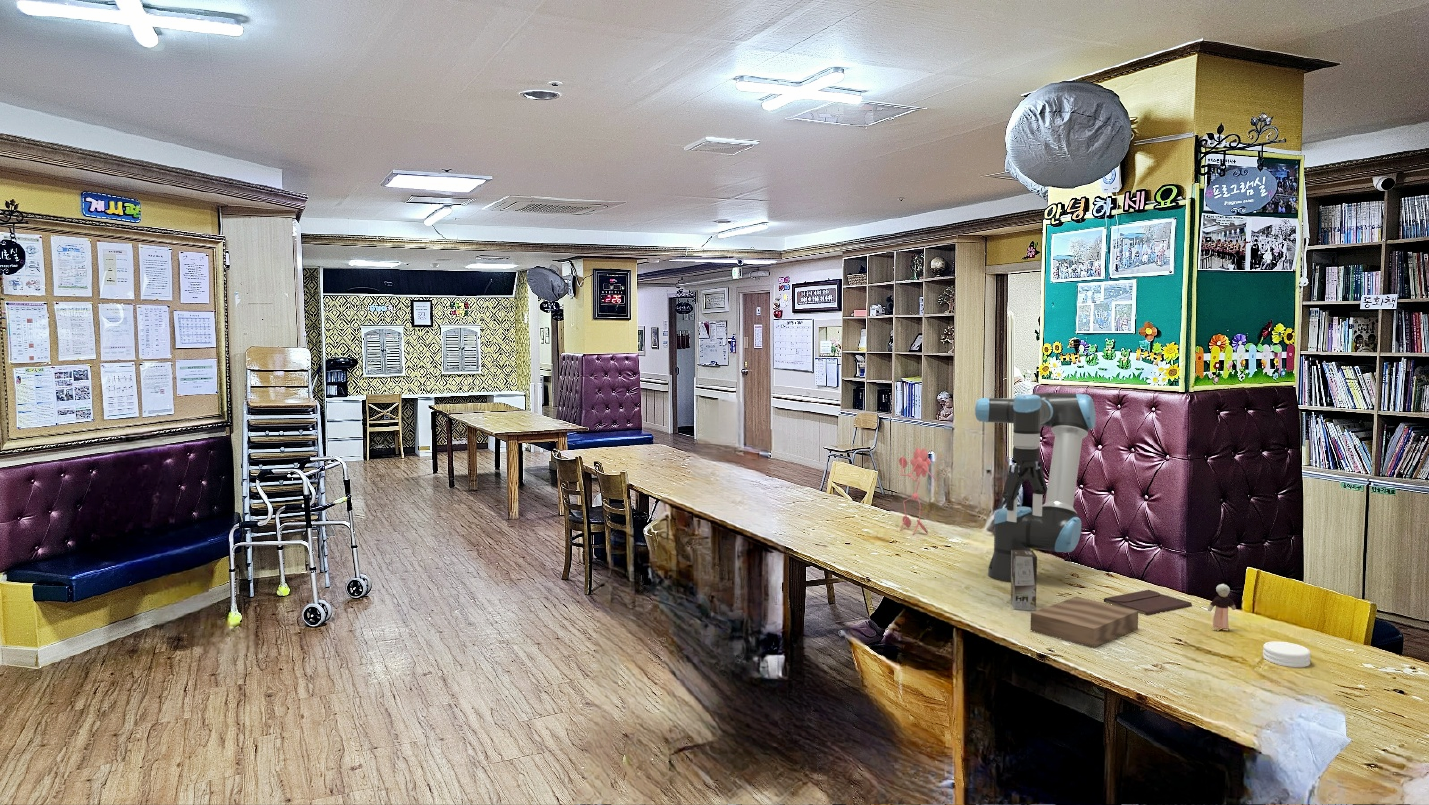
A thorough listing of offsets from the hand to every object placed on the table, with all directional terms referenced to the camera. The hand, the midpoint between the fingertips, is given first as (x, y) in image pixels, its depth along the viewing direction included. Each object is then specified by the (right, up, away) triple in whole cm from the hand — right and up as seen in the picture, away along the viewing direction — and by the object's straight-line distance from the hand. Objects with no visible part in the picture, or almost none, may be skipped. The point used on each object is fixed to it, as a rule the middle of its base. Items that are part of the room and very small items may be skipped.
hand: (1024, 518), depth 268 cm
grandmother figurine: (+47, -28, -20) cm, 58 cm away
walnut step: (+9, -28, -20) cm, 36 cm away
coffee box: (0, -27, +2) cm, 27 cm away
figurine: (-7, -19, +106) cm, 108 cm away
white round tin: (+50, -30, -44) cm, 73 cm away
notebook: (+38, -27, +3) cm, 47 cm away
